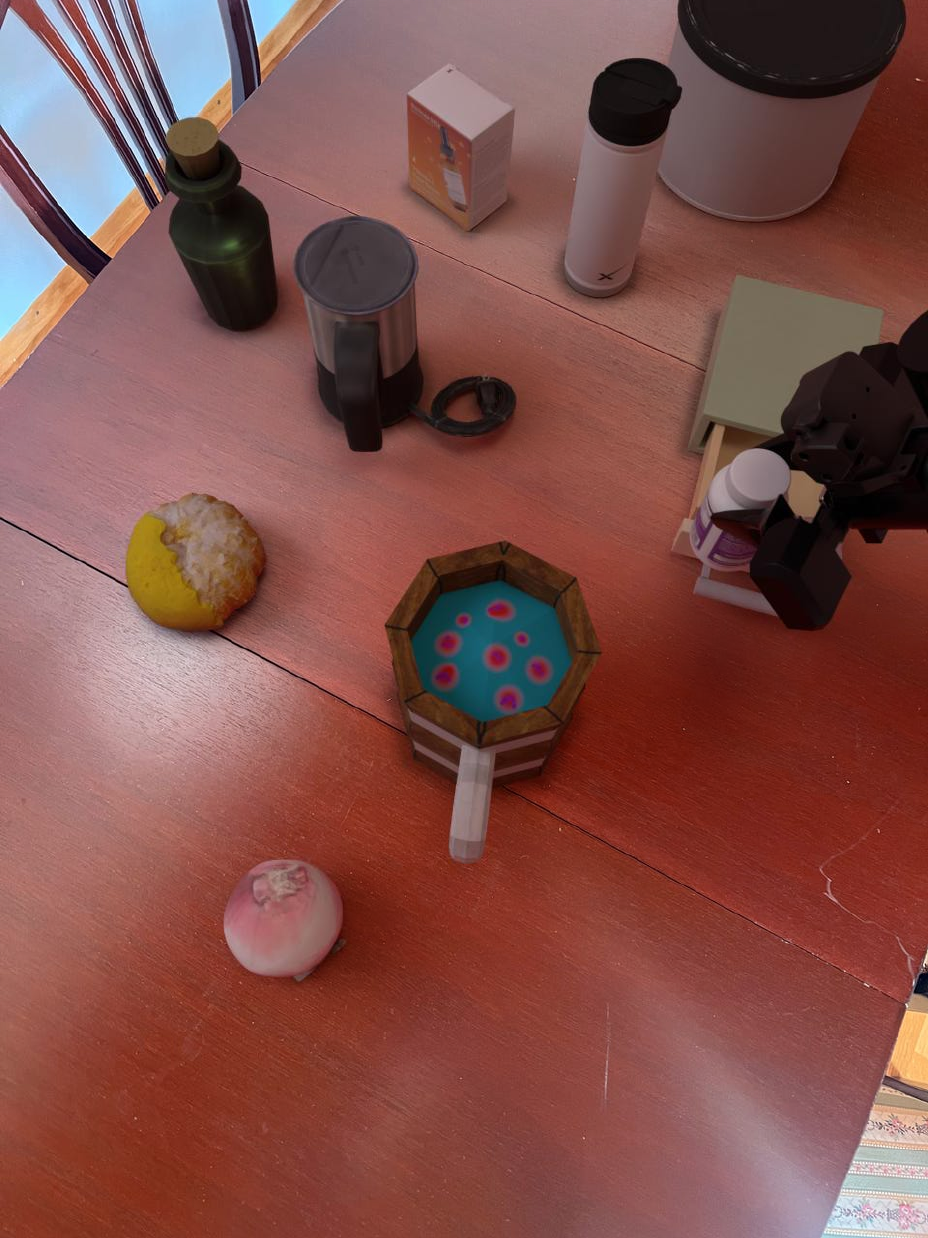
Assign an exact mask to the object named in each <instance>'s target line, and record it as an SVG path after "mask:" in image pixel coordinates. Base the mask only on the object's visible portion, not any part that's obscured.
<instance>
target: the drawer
mask: <svg viewBox="0 0 928 1238" xmlns="http://www.w3.org/2000/svg"><path fill="white" fill-rule="evenodd" d="M772 438H774V437H771V436H767V435H763V434H759V433H755V432H751V431H747V430H743V429H739V428H736V427H732V426H728V425H724V424H720V423H716V422H712V421H711V426H710V430H709V434H708V438H707V442H706V447H705V451H704V455H703V454H702V458H701V459H702V460H701V464H700V468H699V472H698V476H697V481H696V485H695V489H694V492H693V496H692V501H691V504H690V505H691V506H690V510H689V513H688V517H684V518H683V520H682V522H681V524H680V525H679V528H678V530H677V532H676V534H675V537H674V539H673V541H672V546H671V553H675V554H678V555H682V556H687V557H690V558H693V559H697V560H700V559H699V558H698V557H697V556H696V554H695V553H694V551H693V548H692V546H691V542H690V530H691V526H692V523H693V521H694V519H695V516H696V514H697V512H698V510H699V508H700V506H701V503H702V501H703V499H704V497H705V495H706V493H707V491H708V488H709V486H710V484H711V482H712V480H713V478H714V477H715V475H716V474H717V473H718V472H719V471H720V470H721V469H722V468H724V467H725V466H727V465H729V464H731V463H732V462H733V460H734V459H735V458H736V457H737V456H738V455H739V454H740V453H742V452H744V451H746V450H749V449H751V448H753V447H755V446H757V445H759V444H761V443H763V442H766V441H768V440H770V439H772ZM790 472H791V484H790V487H789V489H788V495H789V503H788V504H789V506H790V507H791V509H792V510H793V512H794V513H795V515H796V516H802V517H803V518H804V517H815V515H816V513H817V511H818V509H819V507H820V505H821V504H820V503H819V495H820V493H821V491H822V489H823V487H824V485H823V484H819V483H816V482H815V481H814V480H813V479H812V478H810V477H809V476H808V475H807V474H806V473H805V472H804V471H793V470H790ZM702 563H703V562H702ZM740 571H742V572H745V573H749V574H750V565H749V566H748V567H746V568H744V569H742V570H740ZM711 572H712V568H711V567H709V566H707V565H705V564H704V563H703V564H702V569H701V572H700V576H698V577H697V579H696V581H695V583H694V584H695V585H694V588H693V595H696V596H699V597H703V598H707V599H710V600H714V601H718V602H721V603H725V604H728V605H732V606H737V607H739V608H744V609H747V610H751V611H754V612H758V613H762V614H765V615H769V616H772V617H776V618H779V616H778V615H777V614H776V612H775V611H774V609H773V608H772V607H771V605H770V604H769V603H768V601H767V600H766V598H765V597H764V596H763V594H762V593H761V592H758V591H754V590H750V589H747V588H744V587H739V586H736V585H732V584H728V583H725V582H721V581H718V580H713V579H710V576H711Z"/></svg>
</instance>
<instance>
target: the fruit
mask: <svg viewBox="0 0 928 1238" xmlns="http://www.w3.org/2000/svg"><path fill="white" fill-rule="evenodd" d="M249 522H250V521H249V519H247V518H246V517H245V516H244V514H243V513H242V512H240V511H239V509H237V508H236V506H235V505H233V504H232V503H230V502H228V501H225V500H219V499H218V498H217V497H216V496H214V495H210V494H207V493H195V492H191V493H188V494H185V495H183V496H181V497H180V498H179V499H178V500H177V501H175V500H174V501H171V502H166V503H162V504H161V505H160V506H159V507H157V509H155V510H149V511H147V512H146V513H144V515H143V516H141V517H140V518H139V520H138V521H137V522H136V523H135V525H134V526H133V530H132V533H131V536H130V539H129V542H128V545H127V550H126V554H125V555H126V556H125V578H126V579H125V580H126V584H127V587H128V591H129V594H130V597H131V599H133V601H134V602H135V603H136V605H137V606H138V608H139V609H140V610H141V611H142V612H143V614H144V615H145V616H146V617H147V618H148V619H149V620H151V622H153V623H155V624H157V625H159V626H161V627H163V628H165V629H168V630H174V631H175V630H176V631H182V632H187V633H188V632H189V633H194V632H195V633H196V632H197V633H201V632H207V631H212V630H216V629H218V628H221V627H223V626H224V621H225V620H227V619H228V618H229V617H230V616H231V615H232V613H233V612H234V611H235V610H237V609H240V608H241V607H243V606H244V604H247V603H249V601H250V600H251V599H252V598H253V596H254V595H255V594H256V593H258V591H257V582H258V577H259V576H260V575H261V573H262V572H263V571H264V569H265V566H266V562H267V557H268V555H267V554H266V552H265V549H264V544H263V541H262V539H261V537H260V535H259V533H258V532H257V530H255V529H254V528H253V527H252V526H251V525H250V523H249Z"/></svg>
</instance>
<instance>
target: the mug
mask: <svg viewBox="0 0 928 1238" xmlns="http://www.w3.org/2000/svg"><path fill="white" fill-rule="evenodd" d="M383 626H384V628H385V633H386V637H387V641H388V644H389V648H390V653H391V656H392V657H391V659H392V660H391V666H392V670H393V674H394V678H395V682H396V685H397V692H396V697H397V701H398V705H399V708H400V712H401V716H402V720H403V724H404V727H405V732H406V737H407V741H408V745H409V748H410V751H411V755H412V759H413V760H414V761H416V762H418V763H419V764H421V765H423V766H424V767H426V768H428V769H429V770H432V771H433V772H435V773H437V774H438V775H440V776H442V777H444V778H445V779H447V780H448V781H451V782H452V783H454V784H456V785H455V786H456V787H455V791H454V792H455V793H454V800H453V805H452V806H453V807H452V813H451V822H450V823H451V824H450V830H449V841H448V849H449V855H450V857H451V858H452V860H453V861H455V862H458V863H462V864H463V865H468V864H476V863H478V862H479V861H481V859H482V858H483V854H484V852H485V846H486V839H487V833H488V824H489V815H490V808H491V799H492V790H493V789H496V788H501V787H504V786H507V785H511V784H512V785H513V784H515V783H520V782H523V781H527V780H531V779H533V778H539V777H541V776H542V775H543V773H544V771H545V769H546V767H547V765H548V763H549V762H550V759H552V756H553V754H554V752H555V751H556V749H557V747H558V745H559V743H560V741H561V739H562V738H563V737H564V734H565V733H566V731H567V729H568V727H569V726H570V724H571V721H573V718H574V710H575V708H576V706H577V704H578V702H579V701H580V699H581V697H582V696H583V693H584V692H585V690H586V685H587V680H588V678H589V677H590V675H591V673H592V672H593V670H594V668H595V665H596V664H597V663H598V661H599V659H600V656H601V655H602V653H603V651H602V648H601V645H600V642H599V639H598V636H597V633H596V631H595V627H594V625H593V621H592V619H591V616H590V613H589V610H588V607H587V604H586V601H585V598H584V595H583V592H582V590H581V586H580V584H579V580H578V578H577V577H576V576H574V575H572V574H571V573H569V572H567V571H565V570H563V569H561V568H559V567H557V566H555V565H553V564H552V563H549V562H547V561H545V560H543V559H542V558H540V557H538V556H536V555H534V554H532V553H530V552H529V551H527V550H525V549H523V548H520V547H519V546H517V545H515V544H513V543H511V542H509V541H507V540H500V541H497V542H493V543H489V544H484V545H480V546H475V547H472V548H467V549H463V550H459V551H455V552H450V553H447V554H443V555H439V556H438V555H437V556H434V557H430V558H426V560H425V561H424V563H423V565H422V566H421V568H420V569H419V571H418V572H417V573H416V575H415V577H414V578H413V580H412V581H411V582H410V585H409V586H408V587H407V589H406V590H405V592H404V593H403V595H402V597H401V599H400V600H399V601H398V603H397V605H395V608H394V609H393V611H392V612H391V614H390V615H389V617H388V618H387V620H386V621H385V622H384V625H383Z"/></svg>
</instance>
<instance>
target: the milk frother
mask: <svg viewBox="0 0 928 1238" xmlns="http://www.w3.org/2000/svg"><path fill="white" fill-rule="evenodd" d="M293 259H294V260H293V263H292V265H293V267H292V269H293V275H294V279H295V283H296V285H297V286H298V288H299V289H300V291H301V293H302V297H303V302H304V308H305V313H306V318H307V322H308V328H309V333H310V338H311V342H312V346H313V347H312V348H313V351H314V352H313V353H314V357H315V361H316V371H317V378H318V381H317V390H318V395H319V397H320V400H321V402H322V405H323V406H324V407H325V409H326V410H327V412H329V414H330V415H332V416H333V417H334V418H335V419H337V420H338V421H340V422H342V425H343V428H344V432H345V436H346V440H347V444H348V448H349V449H350V451H352V452H354V453H355V452H356V453H377V452H380V451H381V450H382V448H383V442H384V439H383V428H384V427H388V426H391V425H394V424H396V423H398V422H400V421H402V420H403V419H405V418H406V417H407V416H409V415H410V414H411V413H412V414H413V415H414V416H416V417H417V418H419V420H421V421H422V422H424V423H426V424H427V425H428V426H430V427H431V428H433V429H435V430H437V431H438V432H441V433H443V434H445V435H448V436H450V437H458V438H476V437H480V436H485V435H487V434H489V433H493V432H494V431H496V430H497V429H498V428H500V427H502V426H503V425H504V424H505V423H507V422H508V421H509V419H510V418H511V417H512V416H513V414H514V412H515V410H516V407H517V395H516V391H515V390H514V388H513V387H512V386H511V385H510V384H509V383H508V382H506V381H505V380H502V379H500V378H499V377H495V376H492V377H491V376H490V374H489V373H483V376H482V375H471V376H466V377H460V378H457V379H456V380H453V381H452V382H451V381H450V383H449V384H448V385H446V386H445V387H444V388H442V389H441V390H439V392H438V393H437V394H436V395H435V396H434V398H433V400H432V403H431V406H430V414H431V415H430V414H429V413H427V412H426V411H425V410H424V409H422V408H420V406H418V404H419V402H420V401H421V399H422V396H423V392H424V388H425V387H424V386H425V378H424V372H423V370H422V367H421V365H420V355H419V345H418V344H419V343H418V325H417V323H418V322H417V301H416V297H417V296H416V280H417V277H418V273H419V267H420V266H419V259H418V254H417V252H416V249H415V246H414V245H413V243H412V241H411V240H410V238H409V237H408V236H407V235H406V234H404V232H402V231H401V230H400V229H399V228H398V227H396V226H394V225H392V224H390V223H388V222H386V221H383V220H381V219H379V218H378V219H377V218H373V217H368V216H364V215H349V216H344V217H339V218H336V219H333V220H329V221H326V222H325V223H323V224H321V225H319V226H318V227H316V228H314V229H313V230H311V231H310V232H308V234H307V235H306V236H305V237H304V238H303V239H302V241H301V242H300V244H299V245H298V246H297V249H296V251H295V254H294V258H293ZM472 389H475V392H476V393H475V394H476V401H477V404H478V406H479V407H480V408H481V414H482V415H483V417H481V418H479V419H477V420H473V421H460V420H456V419H454V418H451V417H449V416H448V415H447V414H446V408H447V406H448V404H449V403H450V402H451V401H452V400H453V399H454V398H455V397H456V396H458V395H459V394H462V393H463V392H466V391H469V390H472ZM500 397H501V398H500Z"/></svg>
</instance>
